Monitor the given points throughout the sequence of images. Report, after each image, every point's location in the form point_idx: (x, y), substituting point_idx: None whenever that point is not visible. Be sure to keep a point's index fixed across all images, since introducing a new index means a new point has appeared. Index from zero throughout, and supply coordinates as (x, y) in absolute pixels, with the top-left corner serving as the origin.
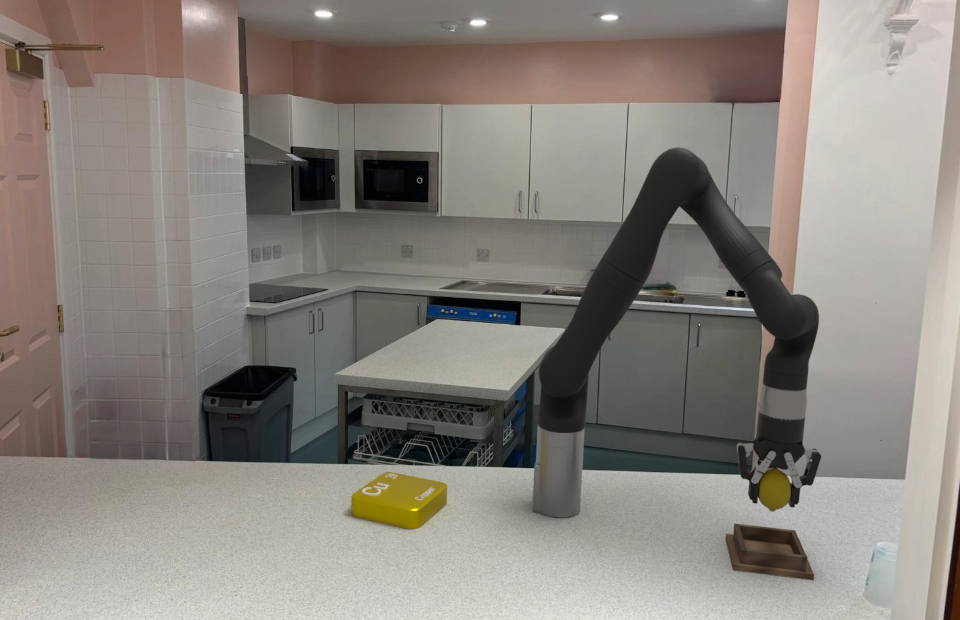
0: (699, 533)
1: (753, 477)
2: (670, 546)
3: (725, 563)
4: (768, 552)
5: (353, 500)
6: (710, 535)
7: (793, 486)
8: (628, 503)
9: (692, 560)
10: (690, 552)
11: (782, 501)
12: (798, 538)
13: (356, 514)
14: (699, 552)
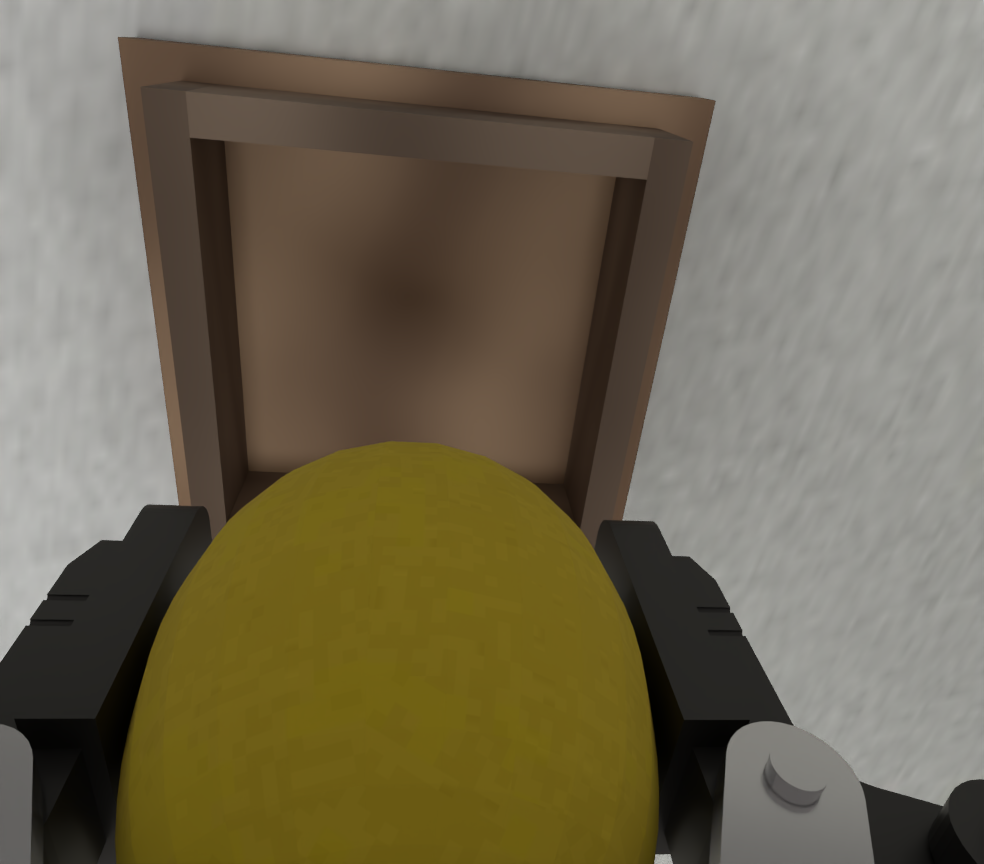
0: (741, 539)
1: (849, 830)
2: (980, 359)
3: (718, 194)
4: (474, 132)
5: None
6: (686, 529)
7: (70, 761)
8: (977, 746)
9: (925, 197)
10: (890, 305)
11: (314, 472)
12: (184, 432)
13: None
14: (832, 316)
